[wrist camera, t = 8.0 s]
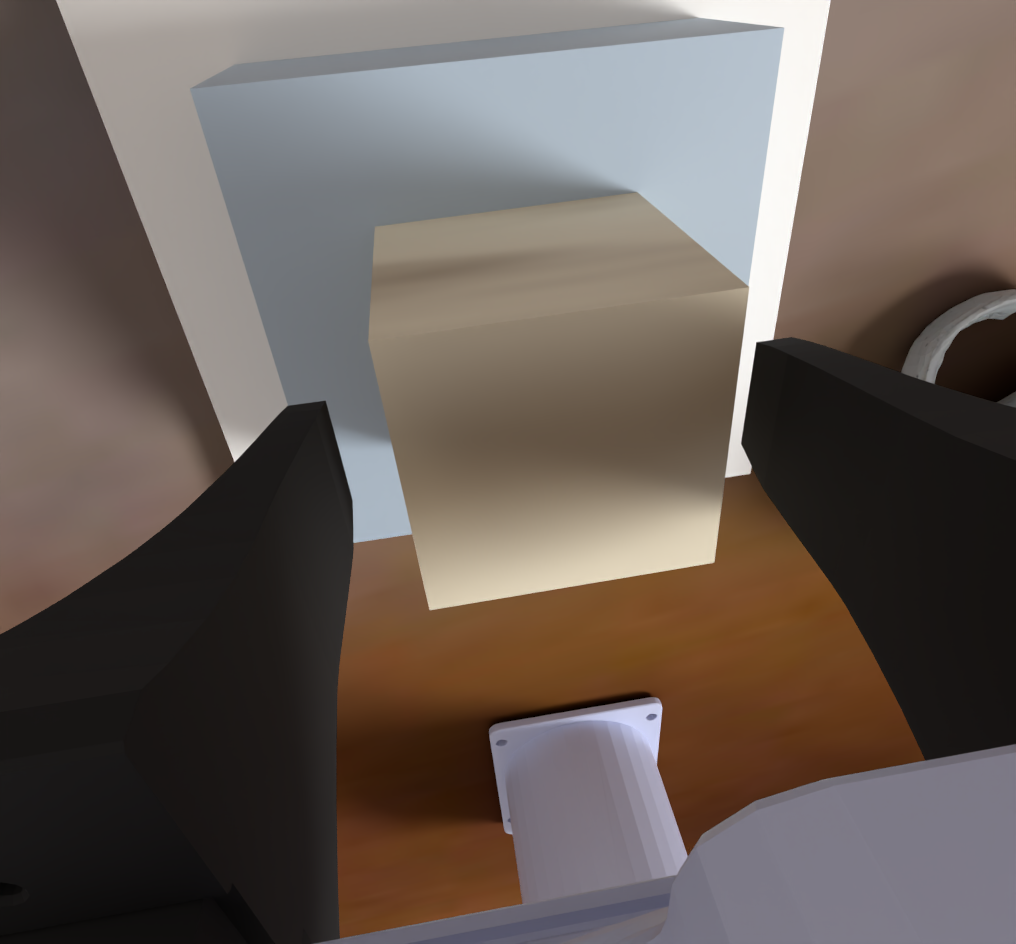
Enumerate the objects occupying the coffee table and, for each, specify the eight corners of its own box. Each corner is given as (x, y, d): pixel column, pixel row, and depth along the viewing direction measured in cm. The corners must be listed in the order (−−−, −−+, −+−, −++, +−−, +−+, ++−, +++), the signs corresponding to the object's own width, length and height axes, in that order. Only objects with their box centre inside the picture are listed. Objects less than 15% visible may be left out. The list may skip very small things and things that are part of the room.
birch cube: (631, 415, 16) (714, 562, 12) (418, 447, 16) (429, 610, 12) (637, 192, 13) (749, 287, 9) (374, 226, 13) (368, 340, 9)
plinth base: (735, 453, 24) (809, 554, 20) (272, 522, 23) (246, 644, 18) (829, -170, 14) (1011, -233, 10) (40, -105, 13) (-123, -146, 9)
